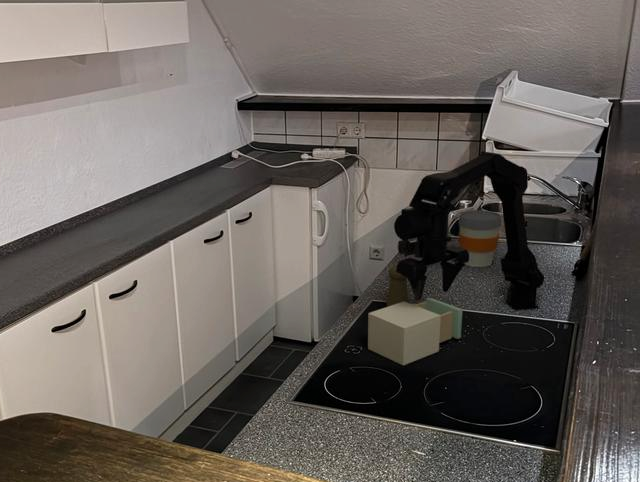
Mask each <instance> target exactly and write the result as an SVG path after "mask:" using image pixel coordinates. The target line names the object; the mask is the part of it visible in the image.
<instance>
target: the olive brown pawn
mask: <svg viewBox="0 0 640 482" xmlns="http://www.w3.org/2000/svg"><path fill="white" fill-rule="evenodd" d="M396 267H397V264H393V265H391V266H390V267H389V269H388V276H389V278H390V279H389V285H388V293H387V296H386V297H387V298H386V303H385V304H386V307H389V306H392V305H395V304H398V303H401V302H404V301H405V302H407V303H410V302H409V291H408V282H407V278H406V277H405V276H403V275H401V274H400V273H397V272H396Z"/></svg>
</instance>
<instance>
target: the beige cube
mask: <svg viewBox="0 0 640 482" xmlns="http://www.w3.org/2000/svg"><path fill="white" fill-rule="evenodd" d="M415 305H416V304H412V303H410V302H409V303H407V302H405V301H404V302H401V303H398V304H395V305H392V306H389V307H387V306H386V307H383V308H379V309H376V310H374V311H371V312H368V315H367V316H368V317H367V318H368V319H367V350H368V351H369V350H370V351H372V352H374V353H376V354H378V355H380V356H382V357H384V358H386V359H388V360H391V361H393V362H394V363H397V364H399V365H402V366H407V365H408V364H411V363H413V362H415V361H419V360H421V359H424V358H426V357H428V356H430V355H433V354H436V353H438V352H440V343H439V338H440V318H441V315H439V314H436V313H433V312H431V311H428V310H426V309H423V308H420V307H418V306H415Z"/></svg>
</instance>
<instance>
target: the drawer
mask: <svg viewBox="0 0 640 482" xmlns="http://www.w3.org/2000/svg"><path fill="white" fill-rule="evenodd" d="M414 305H415V306H418V307H420V308H423V309H426V310H428V311H431V312H433V313H436V314H439V315H441V318H440V338H439V344H441V343H443V342H446V341H448V340H451V339H452V338H453V339H457V340H460V339H461V338H462V327H463V326H462V323H463V321H462V320H463V309H462V308H460V307H457V306H454V305H451V304H448V303H446V302H443V301H440V300H438V299H436V298H432V297H426V298H425V301H422V302H419V303H416V304H414Z"/></svg>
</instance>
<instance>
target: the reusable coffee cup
mask: <svg viewBox="0 0 640 482" xmlns="http://www.w3.org/2000/svg"><path fill="white" fill-rule="evenodd" d="M458 226H459V231H458V241H459V242H458V243H459V248H463V249H466V250H467V251H468V253H469V262H466V263H465V266H468V267H473V268H486V267H490V266H491V265H493V259H494V255H495V251H496V250H497V248H498V243H499V239H500V228H501V226H502V215H501V214H500V213H498V212H495V211H491V210H484V209H483V210H482V209H478V210H477V209H474V210H465V211H462V212H460V214H459V218H458Z"/></svg>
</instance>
